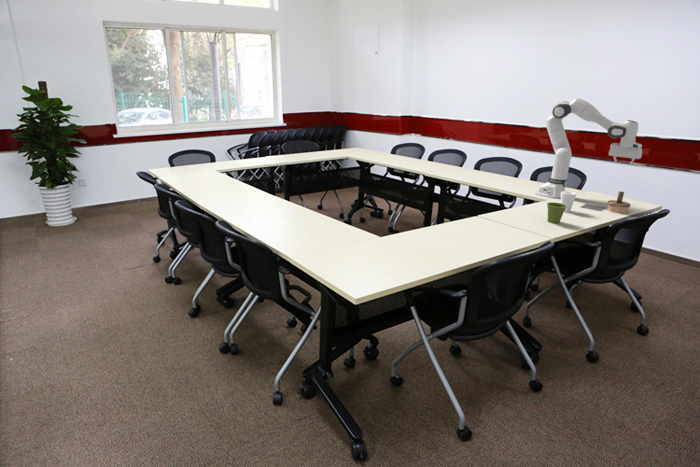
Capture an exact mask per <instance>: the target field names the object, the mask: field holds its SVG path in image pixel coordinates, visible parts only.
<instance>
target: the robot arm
mask: <svg viewBox="0 0 700 467" xmlns="http://www.w3.org/2000/svg"><path fill="white" fill-rule="evenodd" d="M571 114H573V115H576V116H577V117H579V119H582V120H584V121H585V122H592V123H594V124H597V125H599V126H600V127H602V128H603V129H604V130H606V131H607V136H608V137H609V138H611V139H620V142H613V143H611V144H610V146H609V148H610V149H609V151H608V156H612V157H613V160H614V161H613V163H615V164H617V163H618V159H617V158H625V159H626V158H627V159H631V161H629V163H628V165H629V166H631V165H633V162H634V161H635V160H640V159H641V158H642V155H643V150H642V147H643V144H641V143H639V142H636V137H637V135H638V131H639V123H638V122H637V121H635V120H631V119H627V120H625V121H623V122H620V123H619V122H618V123H617V122H613V121H612V120H610V119H609V118H607V117H605V116H604V115H603V114H602V113H601V112H600V111H599V110H598V109H597V108H596V107H595V106H594V105H593V104H591V103H590V102H588V101H587V100H585V99H582V98H580V97H576V98H574V99H572V101H570V102H568V101H561V102H558V103H557V104H556V105H554V106H553V108H552V115H549V116H548V117H547V118H546V120H545V124H546V129H547V133H548V136H549V138H550V143H551V145H552V148H553V151H554V154H555V155H554V161H553V165H552V166H553V167H552V172H551V176H550V177H549V178H548V179H547V182H545V183H543V184H541V185H540V186H539V188H538V189H537V190H536V191H535V192H534V194H535V195H539V196H543V197H546V198H551V199H561V192H562V191H566V187H567V183H568V174H569V168H570V164H571V160H572V149H571V145H570V143H569V140H568V137H567V134H566V131H565V128H564V125H563V119H564V118H566V117H568V116H569V115H571Z"/></svg>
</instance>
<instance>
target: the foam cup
mask: <svg viewBox="0 0 700 467" xmlns="http://www.w3.org/2000/svg"><path fill="white" fill-rule="evenodd" d="M576 197H577V193H576V192H575V191H568V190H565V191H562V192H561V198H560V201H559V202H560V203H561V204H564V205H567V207H566V209H565V211H564V213H570V212H571V210H572V208H573V204H574V202H575V199H576Z"/></svg>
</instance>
